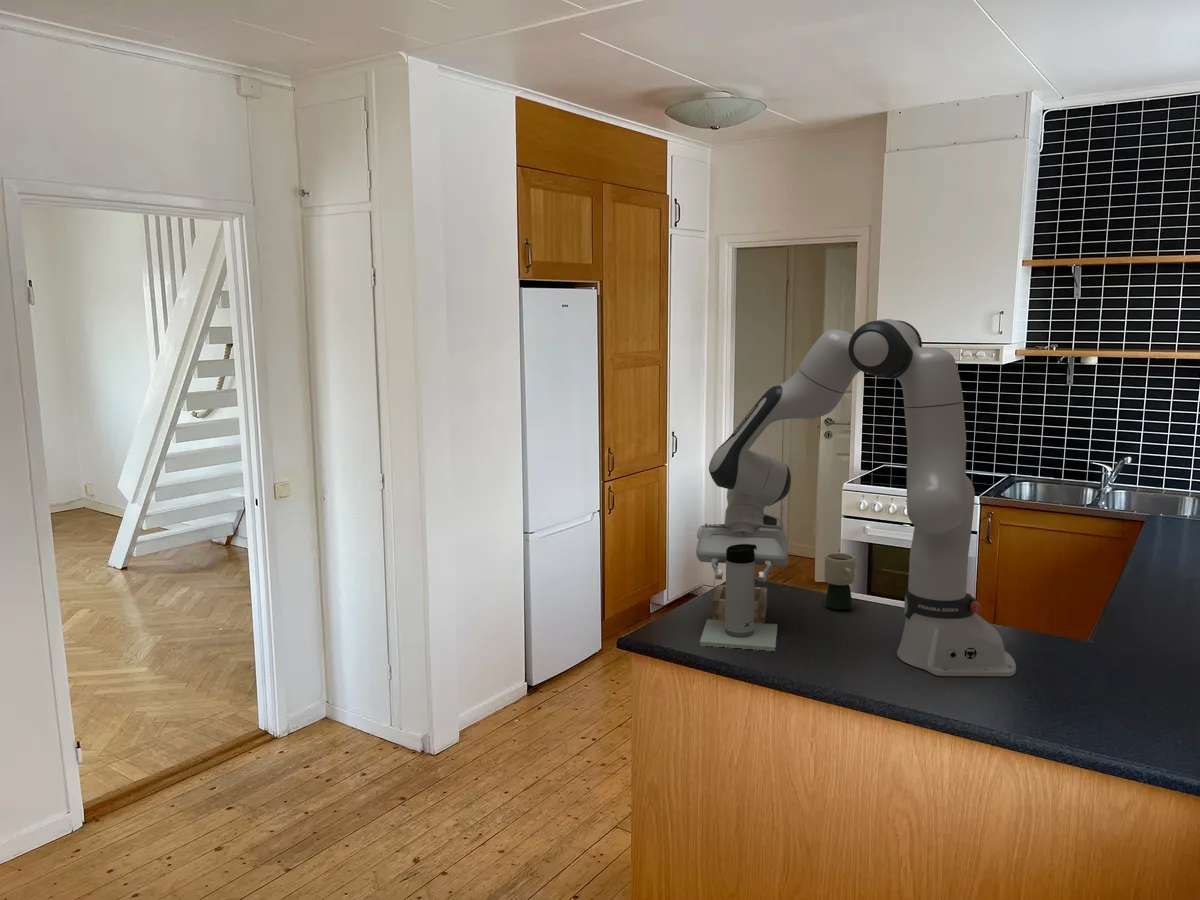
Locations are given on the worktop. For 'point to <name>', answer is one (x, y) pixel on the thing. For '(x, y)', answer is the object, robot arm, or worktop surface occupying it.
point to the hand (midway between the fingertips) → (740, 579)
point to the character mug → (839, 579)
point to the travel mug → (740, 590)
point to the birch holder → (759, 604)
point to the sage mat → (758, 640)
